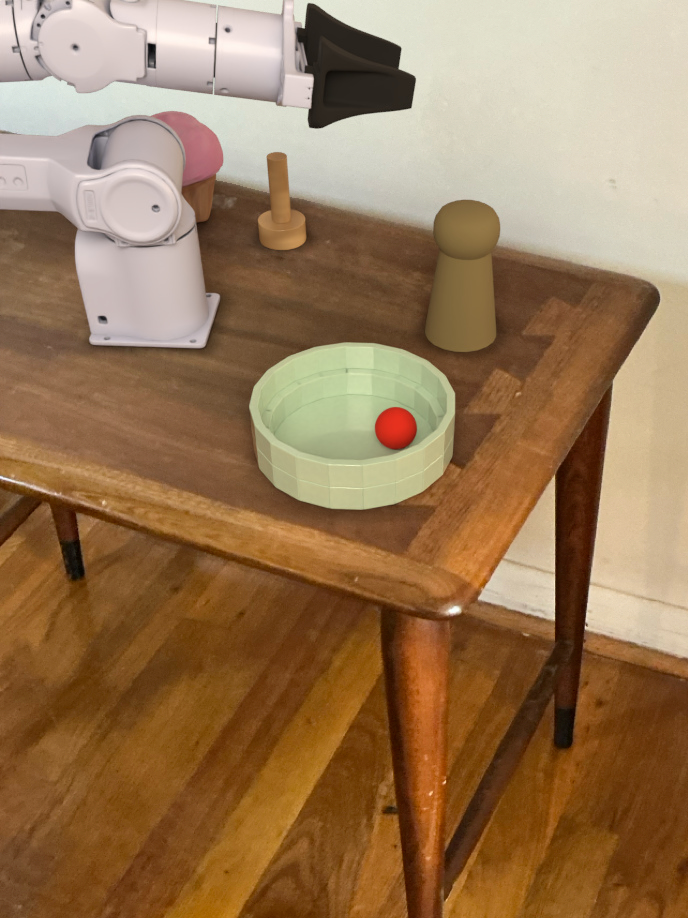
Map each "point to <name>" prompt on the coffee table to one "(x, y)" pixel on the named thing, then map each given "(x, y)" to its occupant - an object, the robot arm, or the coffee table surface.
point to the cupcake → (196, 160)
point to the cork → (463, 277)
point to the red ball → (395, 428)
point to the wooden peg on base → (280, 210)
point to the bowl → (350, 425)
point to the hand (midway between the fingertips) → (406, 76)
